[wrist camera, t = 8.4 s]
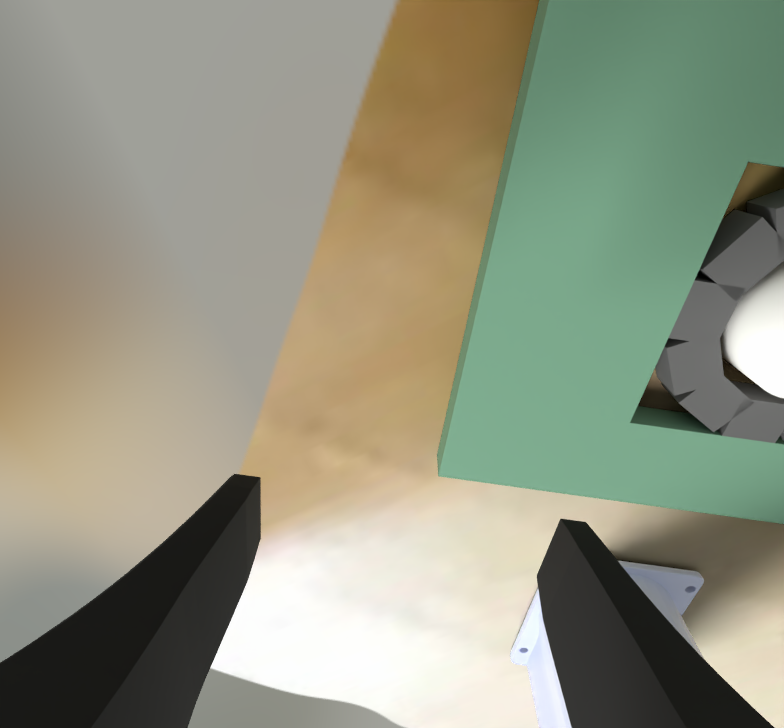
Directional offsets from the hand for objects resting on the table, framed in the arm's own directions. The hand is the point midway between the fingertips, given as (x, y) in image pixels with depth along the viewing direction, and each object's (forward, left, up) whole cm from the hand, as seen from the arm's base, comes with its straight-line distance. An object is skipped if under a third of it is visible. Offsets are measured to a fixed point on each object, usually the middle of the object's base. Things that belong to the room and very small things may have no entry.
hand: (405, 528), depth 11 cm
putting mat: (+4, -11, -9) cm, 15 cm away
